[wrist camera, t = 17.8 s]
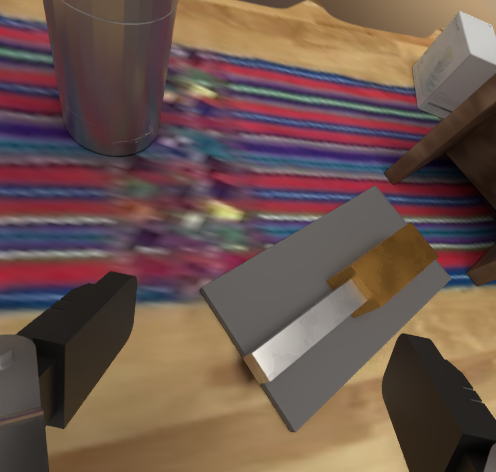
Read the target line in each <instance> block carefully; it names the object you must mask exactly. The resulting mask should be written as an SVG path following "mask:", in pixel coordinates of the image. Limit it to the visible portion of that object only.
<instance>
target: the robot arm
mask: <svg viewBox="0 0 496 472" xmlns="http://www.w3.org/2000/svg"><path fill="white" fill-rule="evenodd" d="M43 4H44V9H45V15H46V21H47V27H48V33H49V38H50V44H51V50H52V56H53V62H54V68H55V73H56V79H57V85H58V92H59V98H60V103H61V109H62V115H63V120H64V124H65V127H66V129H67V131H68V132H69V134H70V135H71V136H72V137H73V138H74V139H75V140H76V141H77V142H78V143H79V144H81V145H82V146H84V147H85V148H87V149H89V150H92V151H94V152H97V153H100V154H104V155H112V156H125V155H130V154H134V153H137V152H139V151H142V150H144V149H145V148H146V147H148V146H149V145H150V144H151V143H152V142H153V141H154V139H155V137H156V135H157V133H158V126H159V120H160V114H161V107H162V102H163V96H164V89H165V83H166V76H167V69H168V63H169V56H170V50H171V43H172V36H173V30H174V23H175V17H176V10H177V4H178V0H43ZM136 290H137V279H136V277H135V276H131V275H127V274H122V273H117V272H112V271H111V272H109V273H107V274H106V275H105V276H104V277H103V278H102V279H100V280H99V281H98V282H97V283H96V284H90V283H88V284H86V285H83V286H80V287H78V288H75V289H73V290H71V291H70V292H69V293H67V294H66V295H65V296H64V297H62V298H61V300H60V301H57V302H56V303H55V304H54V305H52V306H51V308H50V309H47V310H46V311H45V312H43V313H42V314H41V315H40V316H38V317H37V318H36V319H35V320H33V321H32V322H31V323H30V324H28V325H27V326H26V327H24V328H23V329H22V330H21V331H19V332H18V333H17V334H16V335H0V472H49V465H48V454H47V444H46V433H45V427H46V425H48V426H53V427H57V428H61V429H64V428H65V427H66V426H67V424H68V423H69V421H70V420H71V419H72V417H73V416H74V414H75V413H76V412H77V410H78V409H79V407H80V406H81V405H82V403H83V402H84V400H85V399H86V398H87V396H88V395H89V393H90V392H91V391H92V389H93V388H94V387H95V385H96V384H97V382H98V381H99V380H100V378H101V377H102V375H103V374H104V373H105V371H106V370H107V368H108V367H109V366H110V364H111V363H112V361H113V360H114V359H115V357H116V356H117V354H118V353H119V352H120V350H121V349H122V348H123V346H124V345H125V343H126V342H127V340H128V338H129V336H130V334H131V331H132V327H133V323H134V313H135V302H136ZM382 395H383V399H384V402H385V405H386V408H387V410H388V413H389V416H390V419H391V422H392V424H393V427H394V430H395V433H396V436H397V439H398V441H399V444H400V447H401V450H402V453H403V455H404V458H405V461H406V464H407V467H408V469H409V472H496V420H495V418H494V417H493V415H492V414H491V413H490V411H489V410H488V408H487V407H486V406H485V404H483V403H482V400H481V399H480V397H479V396H478V394H477V393H476V391H473V387H472V386H471V384H470V383H469V382H468V380H467V379H466V377H465V376H464V375H463V373H462V372H460V371H459V370H458V369H457V368H456V367H455V366H453V365H452V364H451V363H450V362H449V361H448V360H445V359H444V358H443V357H442V355H441V354H440V352H439V351H438V349H437V348H436V346H435V345H434V343H433V342H432V341H431V340H430V339H428V338H423V337H419V336H414V335H409V334H404V333H402V334H401V335H400V336H399V337H398V339H397V341H396V344H395V346H394V349H393V352H392V354H391V357H390V360H389V363H388V365H387V368H386V371H385V373H384V376H383V381H382Z"/></svg>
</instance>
